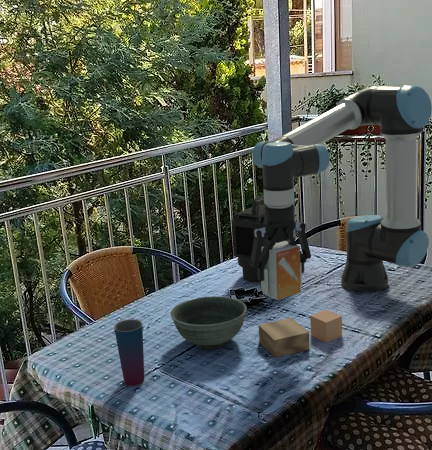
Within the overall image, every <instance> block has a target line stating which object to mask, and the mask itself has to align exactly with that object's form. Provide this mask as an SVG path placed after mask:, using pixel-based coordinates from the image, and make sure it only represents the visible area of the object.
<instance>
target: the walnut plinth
mask: <svg viewBox="0 0 432 450" xmlns="http://www.w3.org/2000/svg"><path fill="white" fill-rule="evenodd" d="M258 341H259V343H260V344H261V345H262V346H263V347H264V348H265V349H266V350H267V351H268V352H269V354H271V355H272V356H273V358H275V359H276V358H281V357H283V356H284V357H285V356H288V355H293V354H297V353H300V352H304V351H308V350H309V351H310V332H309V331H308V330H307V329H306V328H305V327H303V326H302V324H300V323H299V322H298V321H296V320H295V319H294V318H292V317H290V318H284V319H280V320H275V321H271V322H266V323H261V324H258Z"/></svg>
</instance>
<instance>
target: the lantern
mask: <svg viewBox="0 0 432 450" xmlns="http://www.w3.org/2000/svg"><path fill="white" fill-rule="evenodd" d="M261 203H264V194H263V195H262V194H261V196H258V197H255V198H254V199H253V200H252V206H251V207H248V208H247V209H244V210H242V211H239V212H237V213H235V214H233V218H232V219H231V222H230V223H231V236H232V237H231V238H232V255H233V257H237V264H238V266H239V267H241V269H242V279H243V281H245V282H248V283H253V284H261V281H260V280H259V279H258V272H257V268H256V269H255V268H254V267H252V266H251V265H250V260H251V254H252V248H253V243H254V232H253V230H254V229H255V228H256V229H261V228H264V225H265V215H264V207H265V206H266V205H265V204H261ZM292 235H293V236H294V231H293V232H292ZM266 237H267V234H266V232H265V233H264V237H262V246H261V247H264V245H265V242H266V241H265V240H266ZM271 240H272V239H271ZM283 241H287V240H281V241H279V242H283ZM279 242H276V243H279ZM260 255H261V252H260Z"/></svg>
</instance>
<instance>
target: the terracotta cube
mask: <svg viewBox="0 0 432 450" xmlns="http://www.w3.org/2000/svg"><path fill="white" fill-rule="evenodd" d="M310 336H311V337H314V338H316V339H318V340H320V341H322V342H324V343H329V342H331V341H334V340H336V339H338V338H341V337H343V316H342V315H341V314H338V313H335V312H333V311H332V310H331V311H330V310H328V309H324V310H322V311H319V312H317V313H314V314H311V315H310Z"/></svg>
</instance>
